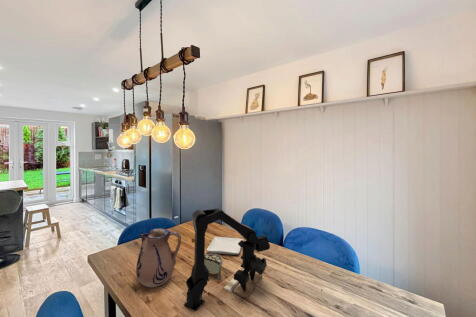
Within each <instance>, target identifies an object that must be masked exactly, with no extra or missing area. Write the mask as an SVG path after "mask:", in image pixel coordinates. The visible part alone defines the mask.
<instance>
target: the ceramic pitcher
mask: <svg viewBox="0 0 476 317" xmlns="http://www.w3.org/2000/svg"><path fill="white" fill-rule="evenodd" d="M171 236H176V237H177V245H176V247H175V250H174V251H172V249H171V246H170V244H169V238H170V237H171ZM140 237H141V244H140V249H139V254H138V258H137V261H136V267H135V269H136V271H135V273H136V274H135V275H136V278H137V280H138V281H139V283H140V284H142V285H143V286H144V287H148V288H156V287H158V286H162V285H164V284H165V283H166V282H167V281H168V280H169V279H170V278H171V276H172V275H173V273H174V269H175V266H176V263H177V261H176V260H177V259H176V257H177V255H178V253H179V251H180V247H181V245H182V235H181V234H180V233H179V232H178V231H170V230H169V229H167V228H163V227H162V228H153V229H150V230H149V232H143V233H141V234H140Z"/></svg>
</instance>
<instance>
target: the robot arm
mask: <svg viewBox="0 0 476 317" xmlns="http://www.w3.org/2000/svg"><path fill="white" fill-rule="evenodd" d="M191 215H192V216H191V222H192V225H193V229H194V257H193V258H194V260H193V262H194V263H193V266H192V268H191V273H190V276H189V277H188V279H186V281H185V283H186V287H187V292H186V302H185V303H183V306H184V307H186V308H187V309H188V310H189V309H190V310H192V311H194V312H196V311H197V310H198V309H200V307H202V305H203V304H204V303H205V300H204V299H203V293H204V290H205V288H206V286H208V282H209V281H210V279H209V277H208V275H209V270H208V269H207V267H206V265H204V259H205V255H206V254H205V249H206V233H207V230H208V227H209V225H210V224H213V223H215V222H217V221H219V220H220V221H221V222H223V223H224V224H226V225H227V226H229V227H230V228H232V229H234V231H236V232H237V233H238V234H239V235H240V236H241V237H242V239H243V240H241V241H240V242H239V243H238V245H239V246H240V247H241V249H242V252H241V254H242V255H241V256H240V259H241V260H242V263H241V264H240V268H241V269H242V268H243V271H242V270H241V269H238V270H236V272H234V274H233V278H234V280H237V281H239V284H240V285H241V287H242V289H243V291H246V285H247V282H248V280H249V274H250V278H251V281H253V280H254V277H255V273H257V274H260V275H263V273H265V271H266V269H267V268H266V267H267V266H268V264H267V259H266V258H265V257H262V258H261V257H259V256H257V255H256V254H255V251H256V252H257V253H260V252H265V251H269V250H270V249H271V244H270V242H269V239H268V237H267V235H261V236H257V232H256V230H254V229H253V228H252V227H250V226H249V225H247V224H244V223H241V222H239V221H237V220H236V219H235V218H233V217H231V215H229V214H228V213H226V212H225V211H224V210H223V209H221V208H218V207H216V208H213V209H203V210H201V209H198V210H195V211H194V212H193V213H192V214H191Z"/></svg>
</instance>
